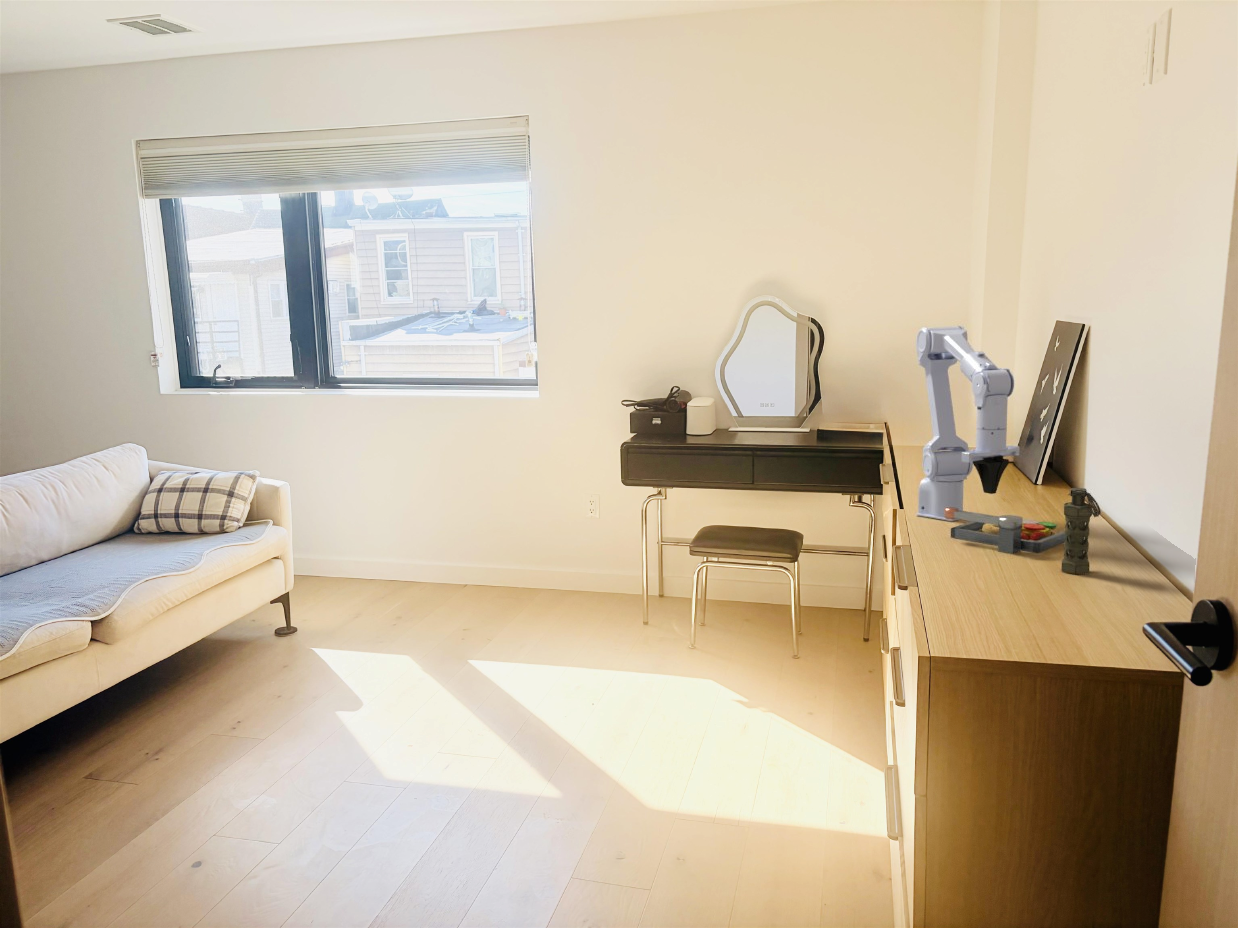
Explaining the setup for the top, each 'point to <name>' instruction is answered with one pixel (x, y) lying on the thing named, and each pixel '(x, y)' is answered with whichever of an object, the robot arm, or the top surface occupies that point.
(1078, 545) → the grenade
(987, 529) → the toy food set
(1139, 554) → the top surface
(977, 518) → the press arm
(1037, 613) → the top surface
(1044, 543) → the tray
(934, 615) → the top surface
